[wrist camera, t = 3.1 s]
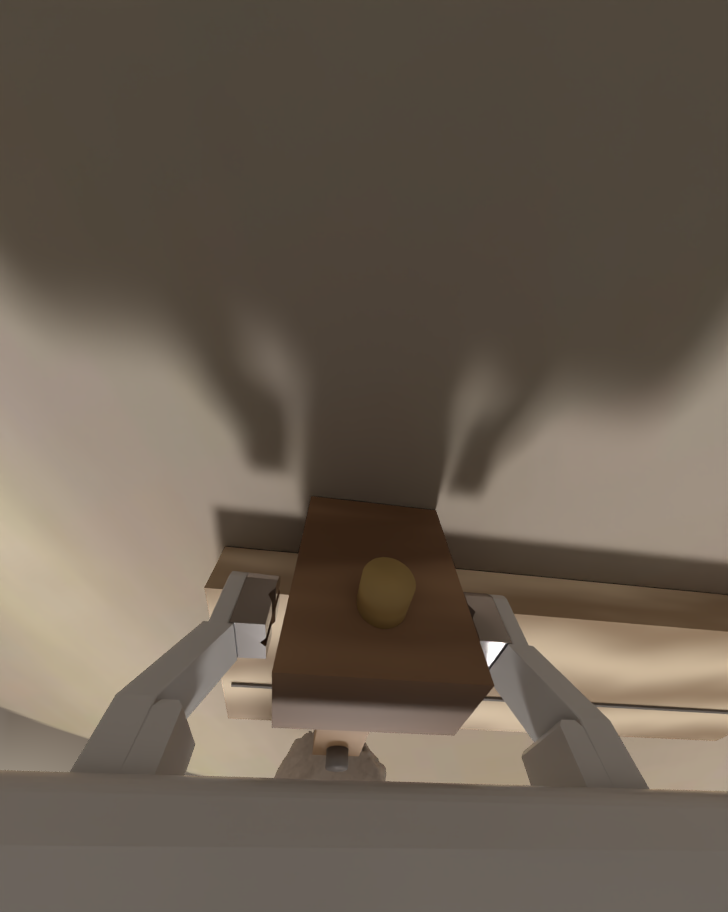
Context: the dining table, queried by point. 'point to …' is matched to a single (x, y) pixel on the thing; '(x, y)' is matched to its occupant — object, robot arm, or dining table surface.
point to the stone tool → (313, 766)
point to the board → (558, 648)
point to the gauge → (375, 631)
